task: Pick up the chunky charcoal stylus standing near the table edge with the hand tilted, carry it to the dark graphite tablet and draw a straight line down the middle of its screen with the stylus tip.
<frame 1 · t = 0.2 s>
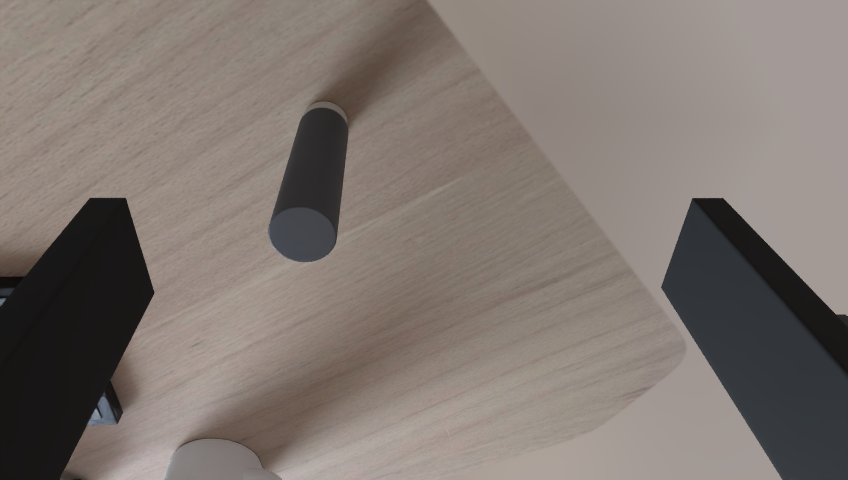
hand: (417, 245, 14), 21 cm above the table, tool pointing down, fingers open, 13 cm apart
stylus: (325, 122, 33), on the table
mug: (237, 458, 51), on the table
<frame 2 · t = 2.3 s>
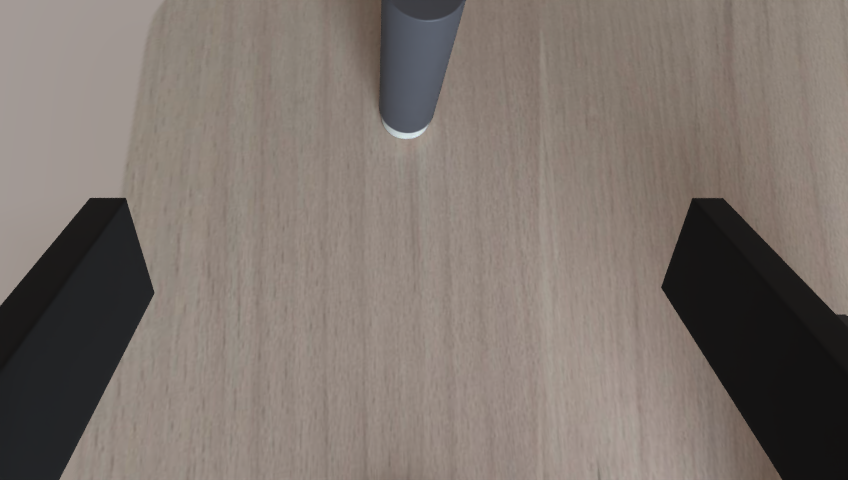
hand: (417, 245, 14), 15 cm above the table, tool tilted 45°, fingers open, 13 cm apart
stylus: (405, 115, 30), on the table
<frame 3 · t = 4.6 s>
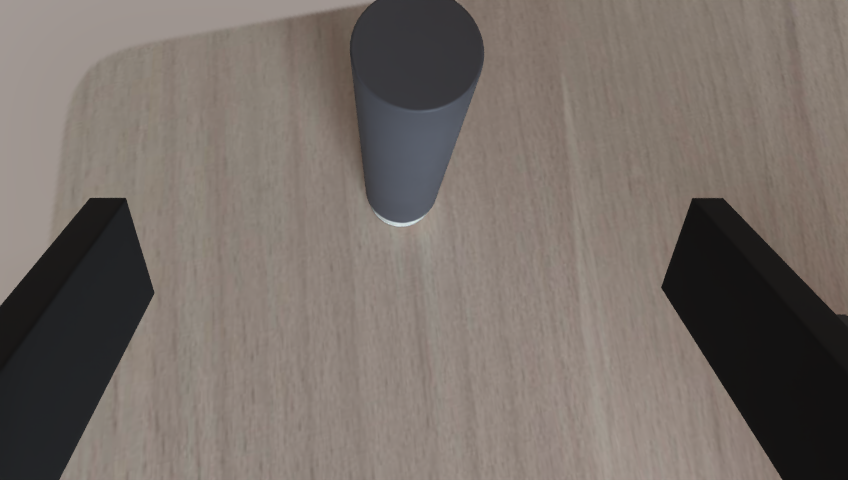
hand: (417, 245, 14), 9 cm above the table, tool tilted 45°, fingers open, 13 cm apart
stylus: (400, 196, 24), on the table
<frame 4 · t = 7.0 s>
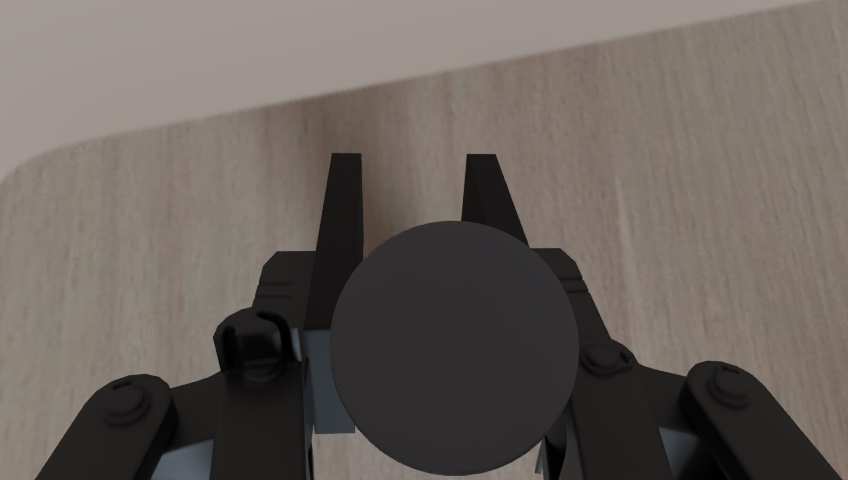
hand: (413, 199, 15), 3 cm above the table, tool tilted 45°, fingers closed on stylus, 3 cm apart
stylus: (409, 344, 18), on the table, touching gripper
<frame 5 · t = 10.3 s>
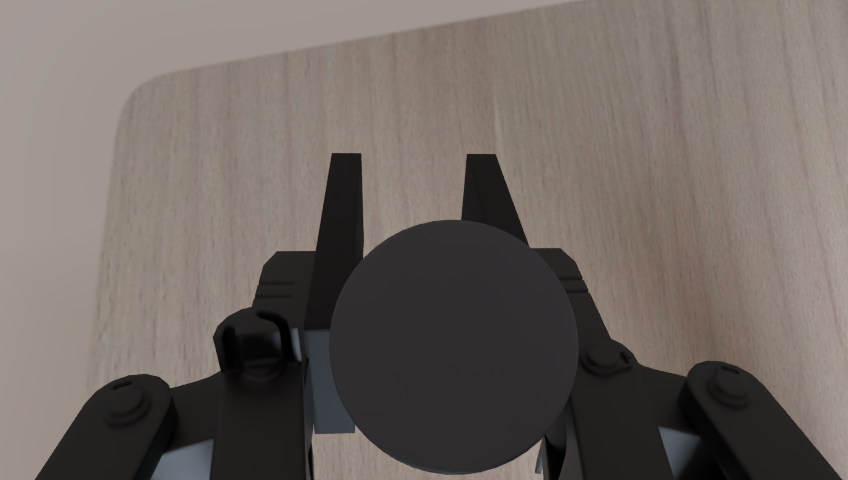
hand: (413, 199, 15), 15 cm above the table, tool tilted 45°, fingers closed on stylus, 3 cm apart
stylus: (409, 343, 18), point 12 cm above the table, touching gripper
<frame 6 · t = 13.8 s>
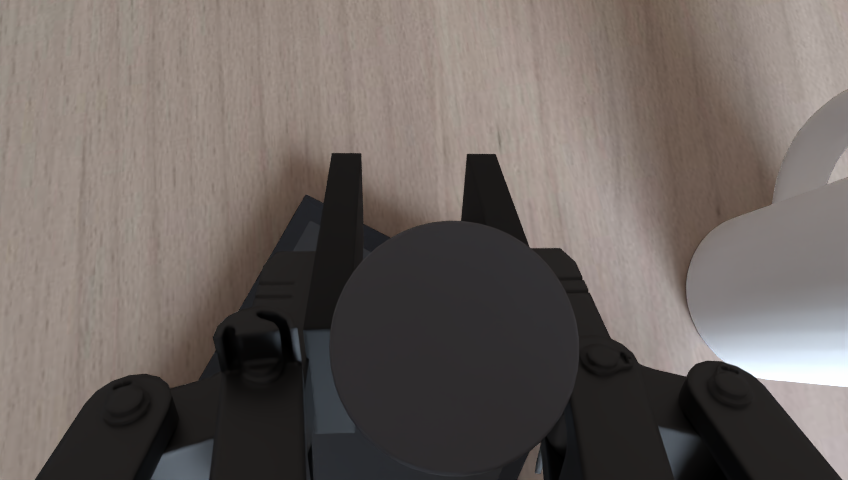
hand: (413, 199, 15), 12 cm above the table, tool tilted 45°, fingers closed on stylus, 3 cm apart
stylus: (409, 344, 18), point 8 cm above the table, touching gripper
mug: (761, 256, 28), on the table
tablet: (337, 468, 25), on the table
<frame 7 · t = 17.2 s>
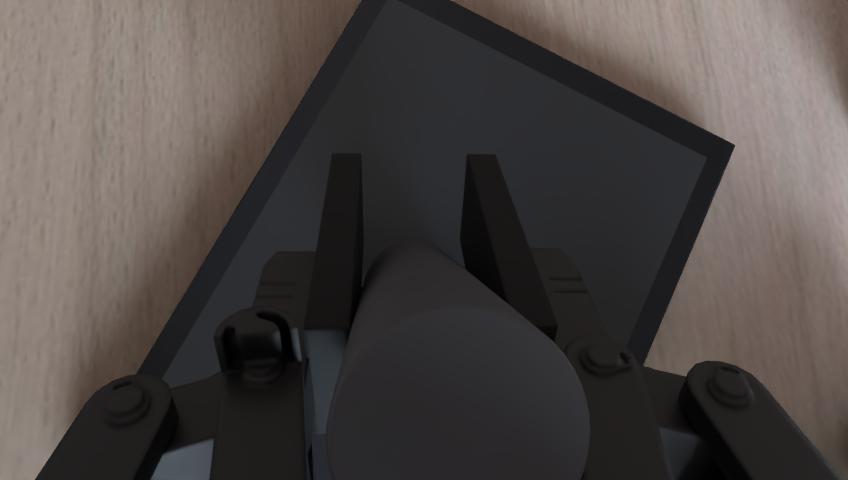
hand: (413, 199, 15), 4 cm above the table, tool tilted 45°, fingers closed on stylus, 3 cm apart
stylus: (410, 281, 18), point 2 cm above the table, tilted 14°, touching gripper
tablet: (426, 309, 19), on the table
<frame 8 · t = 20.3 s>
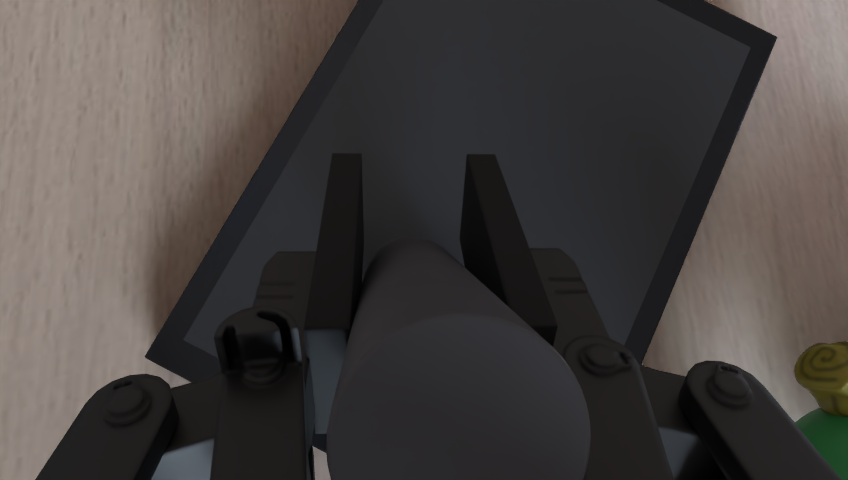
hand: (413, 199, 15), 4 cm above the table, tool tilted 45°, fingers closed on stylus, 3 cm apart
stylus: (409, 277, 18), point 2 cm above the table, tilted 15°, touching gripper, tablet
tablet: (484, 191, 20), on the table
bird figurine: (832, 463, 20), on the table
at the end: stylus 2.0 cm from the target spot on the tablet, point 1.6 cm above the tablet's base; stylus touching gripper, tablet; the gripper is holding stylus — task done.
